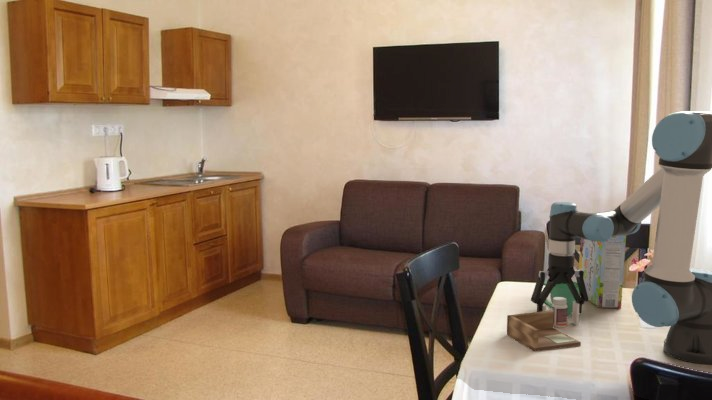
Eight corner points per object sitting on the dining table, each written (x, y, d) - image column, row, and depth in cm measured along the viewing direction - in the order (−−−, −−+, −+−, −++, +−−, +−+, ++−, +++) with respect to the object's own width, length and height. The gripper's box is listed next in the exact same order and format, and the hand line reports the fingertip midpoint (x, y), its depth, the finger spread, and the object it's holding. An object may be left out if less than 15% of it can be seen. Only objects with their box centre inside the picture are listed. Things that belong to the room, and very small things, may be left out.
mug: (585, 314, 207) (586, 284, 205) (570, 320, 200) (571, 289, 199) (544, 304, 217) (545, 276, 216) (528, 310, 211) (529, 281, 209)
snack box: (624, 308, 212) (628, 232, 209) (597, 308, 213) (601, 232, 209) (599, 291, 234) (603, 221, 231) (576, 291, 234) (579, 221, 231)
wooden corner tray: (580, 345, 179) (581, 324, 178) (534, 351, 174) (534, 330, 173) (550, 329, 192) (551, 310, 191) (506, 335, 187) (507, 315, 186)
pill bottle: (569, 324, 196) (570, 298, 195) (562, 328, 193) (563, 301, 192) (555, 321, 199) (556, 295, 198) (547, 325, 196) (548, 298, 195)
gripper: (590, 249, 198) (587, 318, 201) (520, 251, 195) (518, 322, 198) (603, 254, 191) (599, 326, 194) (530, 257, 188) (528, 330, 191)
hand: (558, 324), depth 196 cm, fingers open, 10 cm apart
